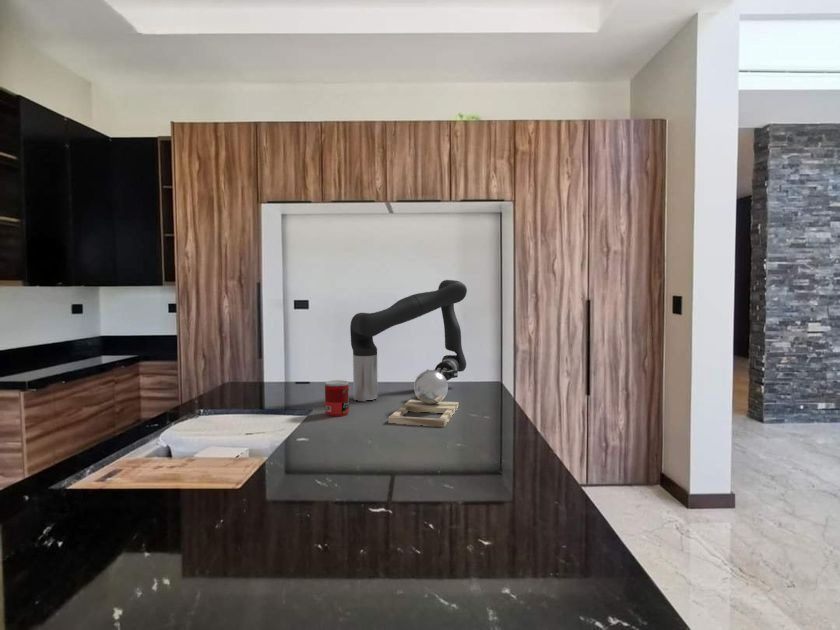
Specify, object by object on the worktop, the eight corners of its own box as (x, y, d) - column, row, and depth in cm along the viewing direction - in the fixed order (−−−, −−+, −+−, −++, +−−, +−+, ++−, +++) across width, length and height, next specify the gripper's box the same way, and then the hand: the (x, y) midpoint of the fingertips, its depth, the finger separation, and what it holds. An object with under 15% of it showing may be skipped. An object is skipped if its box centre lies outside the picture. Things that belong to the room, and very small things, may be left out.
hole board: (410, 404, 189) (410, 399, 189) (458, 407, 185) (458, 402, 185) (388, 423, 164) (388, 417, 164) (444, 427, 160) (444, 420, 159)
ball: (407, 402, 184) (407, 369, 183) (436, 398, 190) (436, 366, 189) (425, 409, 174) (425, 374, 173) (454, 405, 180) (454, 371, 179)
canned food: (347, 417, 172) (346, 384, 172) (323, 417, 172) (322, 384, 172) (350, 411, 180) (350, 380, 179) (327, 411, 180) (327, 380, 179)
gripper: (430, 360, 208) (419, 367, 192) (462, 360, 205) (454, 368, 188) (430, 378, 209) (419, 387, 192) (462, 379, 206) (454, 388, 189)
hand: (437, 377), depth 190 cm, fingers closed
